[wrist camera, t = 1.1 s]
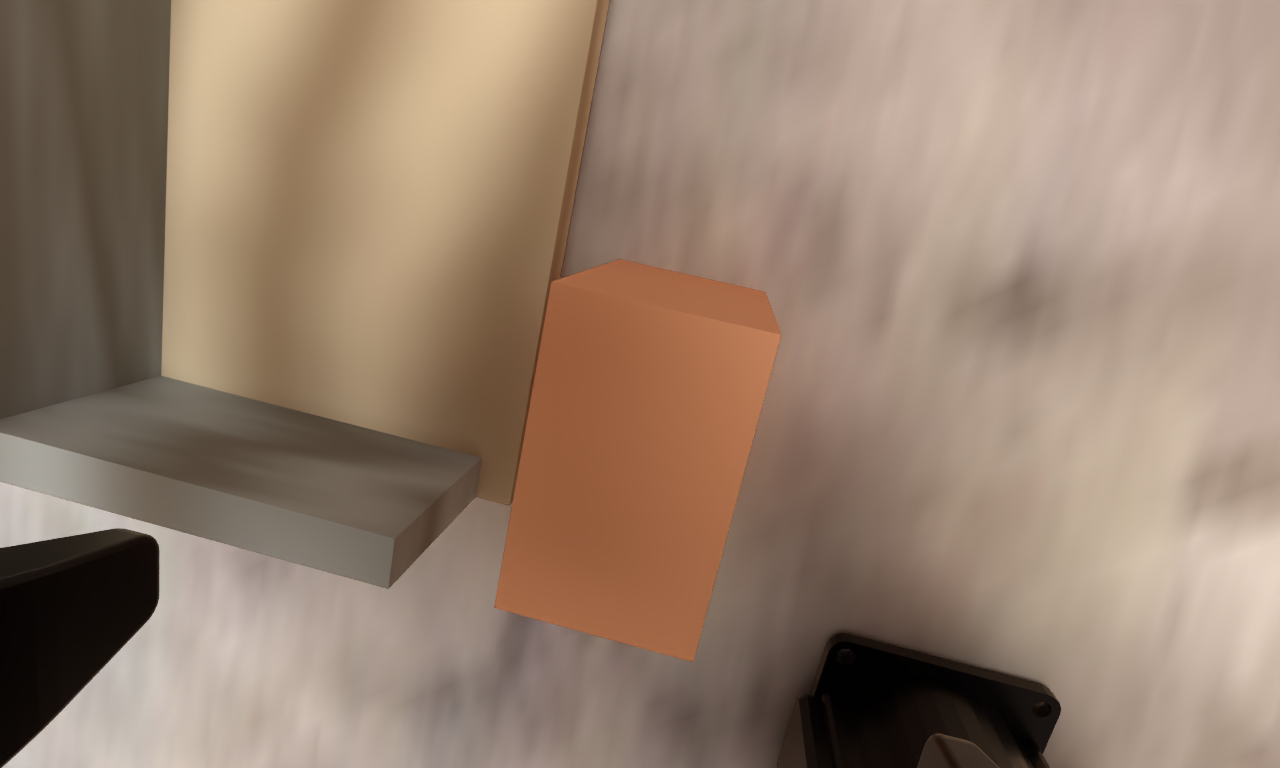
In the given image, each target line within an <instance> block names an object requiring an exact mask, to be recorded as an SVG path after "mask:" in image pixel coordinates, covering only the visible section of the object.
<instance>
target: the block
mask: <svg viewBox="0 0 1280 768" xmlns="http://www.w3.org/2000/svg"><path fill="white" fill-rule="evenodd" d="M780 338H781V333H780V330H779V327H778V325H777V322H776V319H775V317H774V314H773V311H772V309H771V306H770V303H769V301H768V298H767V295H766V293H765V292H762V291H758V290H754V289H749V288H745V287H740V286H736V285H732V284H727V283H723V282H718V281H714V280H709V279H705V278H701V277H696V276H692V275H687V274H683V273H678V272H674V271H670V270H665V269H661V268H656V267H652V266H648V265H643V264H639V263H634V262H630V261H625V260H621V259H618V260H615V261H612V262H609V263H606V264H603V265H600V266H597V267H594V268H591V269H588V270H585V271H582V272H579V273H576V274H573V275H570V276H567V277H564V278H561V279H558V280H555V281H552V282H551V287H550V293H549V298H548V304H547V310H546V316H545V321H544V327H543V333H542V338H541V344H540V350H539V356H538V361H537V367H536V373H535V378H534V384H533V390H532V395H531V401H530V407H529V413H528V418H527V424H526V430H525V435H524V441H523V447H522V452H521V458H520V464H519V470H518V475H517V481H516V487H515V492H514V498H513V504H512V509H511V515H510V521H509V527H508V532H507V538H506V544H505V549H504V555H503V561H502V566H501V572H500V578H499V584H498V589H497V595H496V601H495V606H494V608H497V609H501V610H505V611H508V612H512V613H516V614H519V615H523V616H527V617H530V618H534V619H537V620H541V621H545V622H548V623H552V624H556V625H559V626H563V627H567V628H570V629H574V630H578V631H581V632H585V633H589V634H592V635H596V636H599V637H603V638H607V639H610V640H614V641H618V642H621V643H625V644H629V645H632V646H636V647H640V648H643V649H647V650H650V651H654V652H658V653H661V654H665V655H669V656H672V657H676V658H680V659H683V660H687V661H691V662H693V661H694V658H695V654H696V650H697V647H698V643H699V639H700V635H701V632H702V628H703V624H704V621H705V617H706V613H707V609H708V606H709V602H710V598H711V594H712V591H713V587H714V583H715V580H716V576H717V572H718V568H719V565H720V561H721V557H722V554H723V550H724V546H725V542H726V539H727V535H728V531H729V528H730V524H731V520H732V516H733V513H734V509H735V505H736V502H737V498H738V494H739V490H740V487H741V483H742V479H743V475H744V472H745V468H746V464H747V461H748V457H749V453H750V449H751V446H752V442H753V438H754V435H755V431H756V427H757V423H758V420H759V416H760V412H761V409H762V405H763V401H764V397H765V394H766V390H767V386H768V382H769V379H770V375H771V371H772V368H773V364H774V360H775V356H776V353H777V349H778V345H779V342H780Z"/></svg>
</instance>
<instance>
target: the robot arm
mask: <svg viewBox="0 0 1280 768" xmlns="http://www.w3.org/2000/svg"><path fill="white" fill-rule="evenodd" d="M158 600H159V545H158V543H157V541H156V539H154V538H153V537H152V536H150V535H147V534H143V533H139V532H135V531H131V530H127V529H110V530H104V531H99V532H93V533H87V534H81V535H75V536H69V537H63V538H58V539H52V540H46V541H40V542H34V543H28V544H23V545H17V546H11V547H5V548H0V768H2V767H3V766H4V765H5V764H6V763H7V762H8V761H10V760H11V759H12V758H13V757H14V756H15V755H16V754H17V753H19V752H20V751H21V750H22V749H23V748H24V747H25V746H26V745H27V744H28V743H29V742H30V741H31V740H32V739H34V738H35V737H36V736H37V735H38V734H39V733H40V732H41V731H42V730H43V729H44V728H45V727H46V726H47V725H48V724H49V723H50V722H51V721H52V720H53V719H54V718H55V717H56V716H57V715H58V714H59V713H60V712H61V711H62V710H63V709H64V708H65V707H66V706H67V705H68V704H69V703H70V701H71V700H72V699H73V698H74V697H75V696H76V695H77V694H78V693H79V692H80V691H81V690H82V689H83V688H84V687H85V686H86V685H87V684H88V683H89V682H90V681H91V680H92V678H93V677H94V676H95V675H96V674H97V673H98V672H99V671H100V670H101V669H102V668H103V667H104V666H105V665H106V664H107V663H108V662H109V661H110V660H111V659H112V658H113V657H114V655H115V654H116V653H117V652H118V651H119V650H120V649H121V648H122V647H123V646H124V645H125V644H126V643H127V642H128V641H129V640H130V639H131V638H132V637H133V636H134V635H135V634H136V632H137V631H138V630H139V629H140V628H141V627H142V626H143V625H144V624H145V623H146V622H147V621H148V620H149V619H150V617H151V616H152V614H153V613H154V611H155V609H156V607H157V604H158ZM842 649H849V650H851V651H852V652H851V654H850V655H847V656H840V655H838V654H837V653H838V652H839V651H840V650H842ZM1038 702H1045V703H1044V704H1043V705H1042V706H1040V707H1038V708H1034V707H1033V706H1034V704H1035V703H1038ZM1060 712H1061V707H1060V704H1059V702H1058V700H1057V699H1056V697H1055V696H1054V694H1053V693H1052V692H1051V691H1050V689H1049V688H1047V687H1045V686H1042V685H1039V684H1035V683H1031V682H1028V681H1024V680H1020V679H1016V678H1013V677H1009V676H1005V675H1001V674H998V673H994V672H990V671H986V670H983V669H979V668H975V667H971V666H967V665H964V664H960V663H956V662H952V661H949V660H945V659H941V658H937V657H934V656H930V655H926V654H922V653H919V652H915V651H911V650H907V649H904V648H900V647H896V646H892V645H889V644H885V643H881V642H877V641H873V640H870V639H866V638H862V637H858V636H855V635H851V634H845V633H841V634H837V635H834V636H833V637H831V638H830V639H829V641H828V642H827V644H826V647H825V650H824V654H823V657H822V660H821V663H820V666H819V669H818V672H817V675H816V678H815V681H814V684H813V687H812V690H811V693H810V694H807V693H806V694H804V695H803V696H801V697H800V698H799V699H798V700H797V703H796V706H795V709H794V712H793V715H792V718H791V722H790V725H789V728H788V731H787V734H786V737H785V740H784V743H783V746H782V750H781V753H780V756H779V759H778V762H777V768H1050V767H1049V765H1048V764H1047V762H1046V760H1045V758H1044V757H1043V755H1042V754H1043V752H1044V749H1045V747H1046V745H1047V743H1048V740H1049V738H1050V736H1051V734H1052V731H1053V729H1054V727H1055V725H1056V722H1057V720H1058V718H1059V716H1060Z"/></svg>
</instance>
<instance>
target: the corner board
mask: <svg viewBox="0 0 1280 768" xmlns="http://www.w3.org/2000/svg"><path fill="white" fill-rule="evenodd" d="M609 1H610V0H0V482H3V483H7V484H11V485H14V486H18V487H21V488H25V489H29V490H32V491H36V492H40V493H43V494H47V495H50V496H54V497H58V498H61V499H65V500H69V501H72V502H76V503H79V504H83V505H87V506H90V507H94V508H97V509H101V510H105V511H108V512H112V513H116V514H119V515H123V516H126V517H130V518H134V519H137V520H141V521H145V522H148V523H152V524H155V525H159V526H163V527H166V528H170V529H174V530H177V531H181V532H184V533H188V534H192V535H195V536H199V537H203V538H206V539H210V540H213V541H217V542H221V543H224V544H228V545H231V546H235V547H239V548H242V549H246V550H250V551H253V552H257V553H260V554H264V555H268V556H271V557H275V558H279V559H282V560H286V561H289V562H293V563H297V564H300V565H304V566H308V567H311V568H315V569H318V570H322V571H326V572H329V573H333V574H337V575H340V576H344V577H347V578H351V579H355V580H358V581H362V582H366V583H369V584H373V585H376V586H380V587H384V588H387V589H389V588H390V587H391V585H392V584H393V583H394V582H395V581H396V580H397V579H398V578H399V577H400V576H401V575H402V574H403V573H404V572H405V571H406V570H407V569H408V568H409V567H410V565H411V564H412V563H413V562H414V561H415V560H416V559H417V558H418V557H419V556H420V555H421V554H422V553H423V552H424V551H425V550H426V549H427V548H428V546H429V545H430V544H431V543H432V542H433V541H434V540H435V539H436V538H437V537H438V536H439V535H440V534H441V533H442V532H443V531H444V530H445V529H446V527H447V526H448V525H449V524H450V523H451V522H452V521H453V520H454V519H455V518H456V517H457V516H458V515H459V514H460V513H461V512H462V511H463V510H464V509H465V507H466V506H467V505H468V504H469V503H470V502H471V501H472V500H473V499H474V498H475V497H479V498H483V499H487V500H491V501H494V502H498V503H502V504H506V505H510V504H511V503H512V502H513V498H514V492H515V487H516V481H517V475H518V470H519V464H520V458H521V452H522V447H523V441H524V435H525V430H526V424H527V418H528V413H529V407H530V401H531V395H532V390H533V384H534V378H535V373H536V367H537V361H538V356H539V350H540V344H541V338H542V333H543V327H544V321H545V316H546V310H547V304H548V298H549V293H550V287H551V282H552V281H555V280H558V279H560V276H561V270H562V265H563V259H564V254H565V248H566V242H567V237H568V231H569V226H570V220H571V214H572V209H573V203H574V198H575V192H576V186H577V181H578V175H579V169H580V164H581V158H582V153H583V147H584V141H585V136H586V130H587V125H588V119H589V113H590V108H591V102H592V97H593V91H594V85H595V80H596V74H597V69H598V63H599V57H600V52H601V46H602V40H603V35H604V29H605V24H606V18H607V12H608V7H609Z"/></svg>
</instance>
